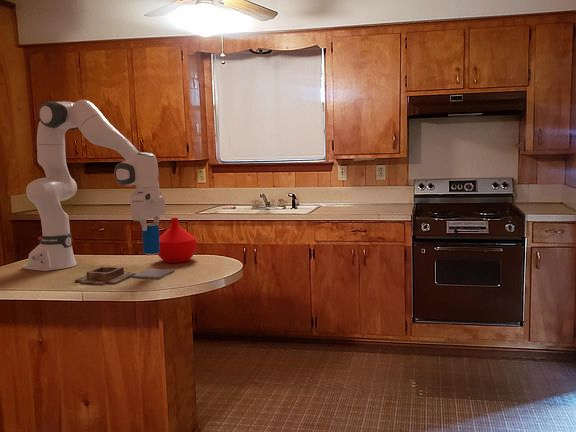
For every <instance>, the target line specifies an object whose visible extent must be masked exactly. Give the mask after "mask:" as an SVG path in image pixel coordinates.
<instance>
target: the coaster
mask: <svg viewBox="0 0 576 432" xmlns="http://www.w3.org/2000/svg"><path fill="white" fill-rule="evenodd" d="M173 273H175V269H164V268H163V269H161V268H160V269H159V268H147V269H145V270H142V271H140V272H138V273H136V274H135V275H133V276H132V277H131V278H132V279H145V278H148V279H149V278H150V279H151V280H161V279H162V277H163V278H165V277H167V276H169V275H171V274H173ZM168 274H169V275H168ZM166 275H167V276H166ZM164 276H165V277H164ZM160 278H161V279H160ZM150 279H149V280H150Z"/></svg>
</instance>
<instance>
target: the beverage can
mask: <svg viewBox="0 0 576 432" xmlns="http://www.w3.org/2000/svg"><path fill="white" fill-rule="evenodd" d="M146 225H147V226H148V230H147V231H143V230H142V229H141V233H142V234H141V235H142V253H143V254H145V256H158V253H159V252H160V241H159V237H160V227H159V226H158V225H159V223H158V224H157V223H154V222H152V223H151V222H149V223H147V222H146Z"/></svg>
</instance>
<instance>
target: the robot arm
mask: <svg viewBox="0 0 576 432" xmlns="http://www.w3.org/2000/svg"><path fill="white" fill-rule="evenodd" d="M38 119H39V122H38V124H37V131H36V133H37V134H36V151H37V152H36V155H37V156H36V158H37V163H38V165H39V166H41V168H42V169H43V171H44V174H45V177H41V178H40V177H39V178H37V179H34V180H32V181H31V182H29V183H28V184H27V186H26V188H25V192H26V193H25V195H26V197H27V199H28V200H29V201H30V202H31V203H32V204H34V206H35V208H36V209H37V212H38V215H39V218H40V222H41V229H42V230H41V232H42V235H41V236H37V240H38V241H39V244H38V245H37V246H36V247H35V248H34V249H32V250H31V251H30V252H29V253H28V257H27V258H28V261H27V262H28V263H26V264H23V266H22V269H25V270H33V271H39V272H41V271H42V272H49V271H55V270H62V269H69V268H72V267H75V266H77V265H78V263H77V260H76V258H75V257H76V256H75V255H74V250H73V245H72V244H73V238H72V237H73V236H72V232H71V227H70V219H69V218H70V216H69V214H68V213H66V212H65V211H64V209H63V208H62V205H61V202H63V201H67V200H69V199H71V198H72V197H74V196H75V195H76V193H77V191H78V185H77V182H76V181H75V179H74V178H72V176H71V174H70V171H69V168H68V164H67V158H66V157H67V155H66V132H67V131H68V130H70V131H75V130H79V131H80V133H82V135H83V137H84V138H85V139H86V140H87V141H88V142H89V143H91V144H93V145H95V146H99V147H105V148H108V149H110V150H111V149H112V150H114V151H115V152H117V153H119V154H120V155H121V157H122V158H123V159H124V161H122V162H119V163H117V164H116V165H115V168H114V172H113V174H114V175H113V176H114V179H115V181H116V182H117V184H119V185H120V186H124V187H125V186H126V187H128V186H135V190H134V192H133V193H131V194H130V195H129V201H131V203H130V216H131V219H132V220H133V222H135V221H136V222H139V223H140V226H141V231H142V230H143V231H147V230H148V226H147V225H146V224H147V219H151V218H153V223H157V224H158V226H159V222H160V219H161V216H162V215H165V214H166V212H167V209H166V201H165V200H166V199H165V198H164V196H163V193H162V192H161V190H160V183H159V175H160V174H159V164H158V161H157V157H156V156H155V154H154V153H152V152H151V153H150V152H143V151H142V152H141V151H139V150H138V149H137V148H136V147H135V146H134V145H133V144H132V143H131V142H130V140H129V139H127V137H125V136H124V135H123V134H122V133H121V132H120V131H119V130H117V128H115V126H113V125H112V124H111V123H110V122H109V120H108V119H107V118H106V117H105V116H104V115H103V113H102V112H101V111H100V109H98V107H96V105H95V104H94V103H93V102H91V101H90V100H87V99H80V100H79V99H78V100H77V101H75V102H72V101H67V100H63V101H47V102H44V103H42V104H41V105H40V107H39V108H38Z"/></svg>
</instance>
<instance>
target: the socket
mask: <svg viewBox="0 0 576 432" xmlns="http://www.w3.org/2000/svg"><path fill="white" fill-rule="evenodd" d="M124 270H125V269H124V267H122V266H103V265H102V266H100V267H97V268H94V269H91V270H89V271H86V275H84V276H81V277H78V278H76V279H74V283H79V284H80V285H94V286H105V285H106V284H107V285H116V284H119V283H122V282H123V281H125V280H128V279H130V278H132V276H133V275H135V274H137V273H135V272H130V271H124Z"/></svg>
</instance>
